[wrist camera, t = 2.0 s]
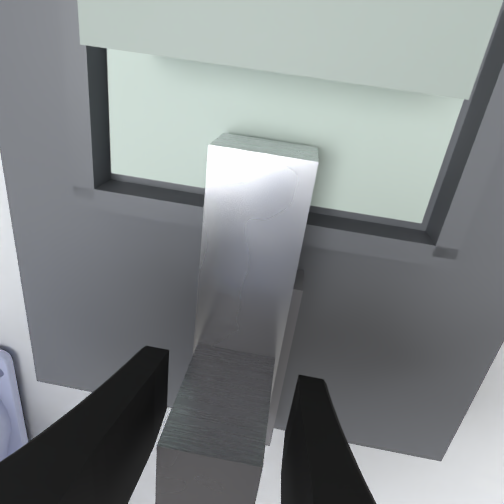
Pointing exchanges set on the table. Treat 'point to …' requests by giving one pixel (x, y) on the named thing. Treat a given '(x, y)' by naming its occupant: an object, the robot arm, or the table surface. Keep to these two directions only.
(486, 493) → the table surface
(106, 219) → the panel
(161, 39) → the cover
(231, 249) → the brushed metal bar
